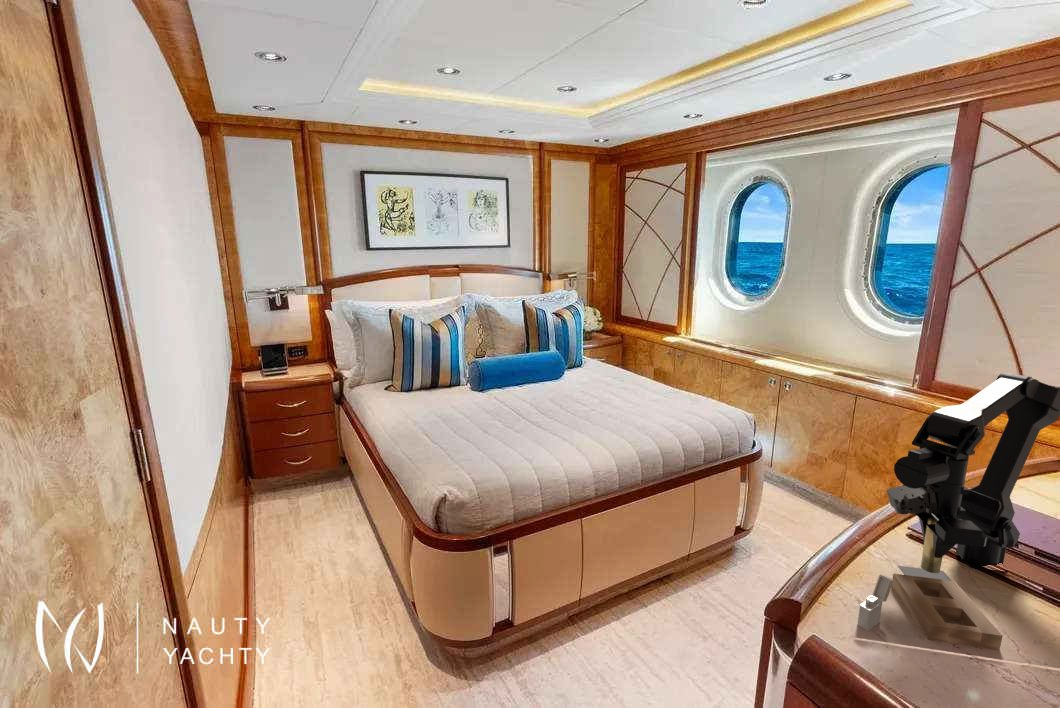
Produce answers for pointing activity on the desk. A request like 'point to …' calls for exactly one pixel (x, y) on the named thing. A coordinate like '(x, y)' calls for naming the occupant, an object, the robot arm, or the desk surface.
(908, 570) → the mat
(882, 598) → the lighter
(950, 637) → the hole block
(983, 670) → the desk surface
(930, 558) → the peg
